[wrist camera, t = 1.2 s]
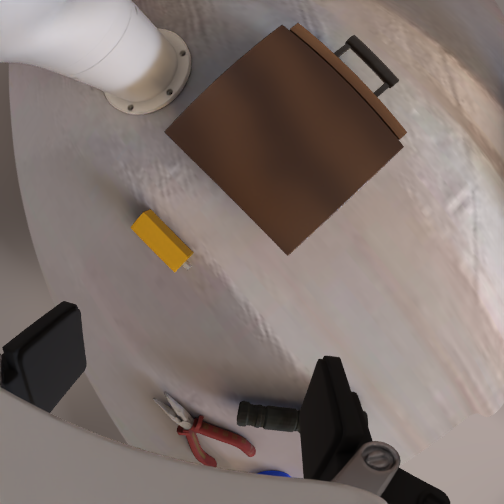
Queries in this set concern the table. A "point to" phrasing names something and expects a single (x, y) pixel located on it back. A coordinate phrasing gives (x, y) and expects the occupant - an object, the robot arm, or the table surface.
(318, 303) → the table surface
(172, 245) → the tall yellow pillar
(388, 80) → the drawer
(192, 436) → the pliers
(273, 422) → the flashlight
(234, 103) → the cabinet
